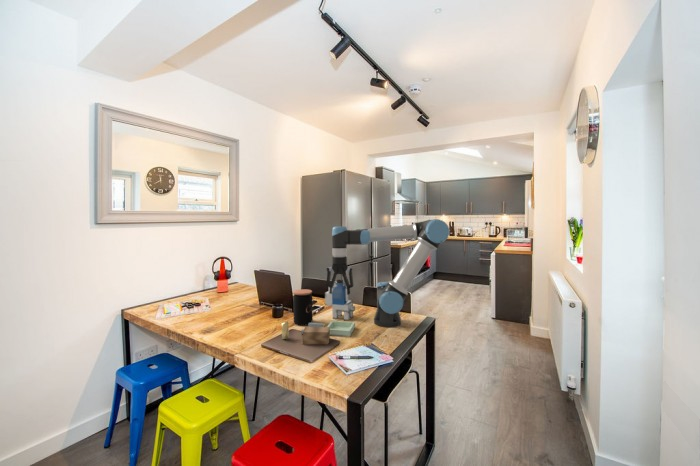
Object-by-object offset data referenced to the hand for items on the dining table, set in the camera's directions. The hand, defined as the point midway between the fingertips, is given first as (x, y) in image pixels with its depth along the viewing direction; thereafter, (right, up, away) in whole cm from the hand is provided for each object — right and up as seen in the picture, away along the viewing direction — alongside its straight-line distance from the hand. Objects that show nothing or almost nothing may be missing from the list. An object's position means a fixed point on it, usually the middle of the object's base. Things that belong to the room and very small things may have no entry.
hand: (340, 300), depth 153 cm
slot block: (-14, -16, +1) cm, 22 cm away
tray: (0, -16, +1) cm, 16 cm away
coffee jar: (-21, -16, +14) cm, 31 cm away
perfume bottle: (0, -2, 0) cm, 2 cm away
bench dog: (-26, -17, -9) cm, 33 cm away
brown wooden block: (-11, -17, -12) cm, 24 cm away
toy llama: (0, -16, +23) cm, 28 cm away
